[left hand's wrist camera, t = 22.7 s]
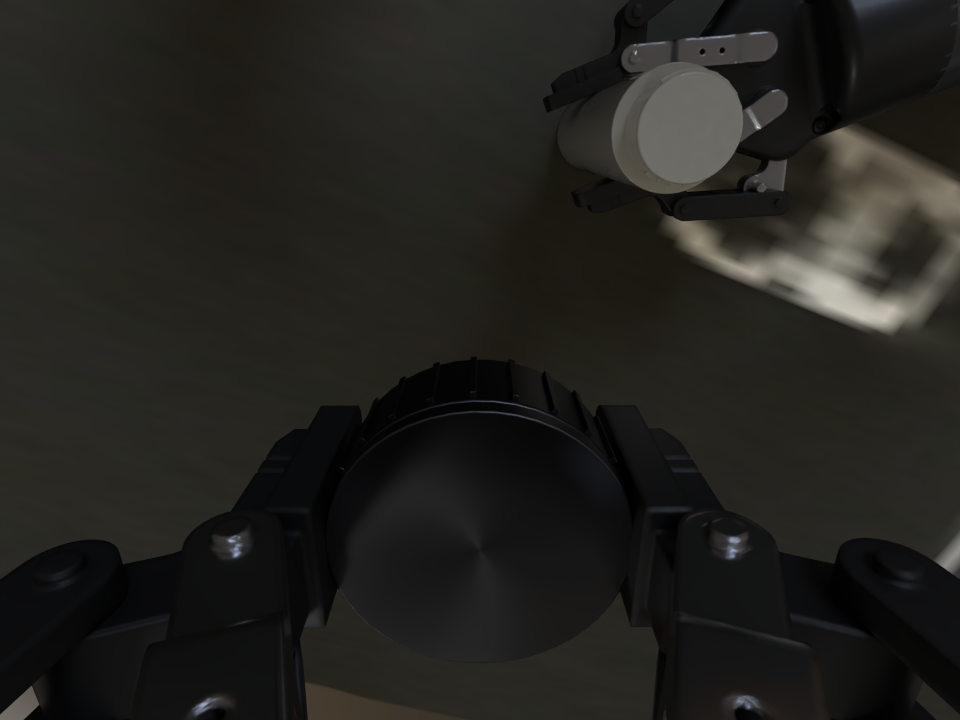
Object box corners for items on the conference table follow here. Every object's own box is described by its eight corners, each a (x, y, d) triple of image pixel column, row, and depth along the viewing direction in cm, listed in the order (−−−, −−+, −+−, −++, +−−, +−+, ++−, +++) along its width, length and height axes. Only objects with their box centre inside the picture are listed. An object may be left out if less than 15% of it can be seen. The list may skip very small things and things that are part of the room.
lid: (318, 541, 11) (287, 622, 10) (391, 315, 10) (370, 360, 8) (550, 607, 12) (563, 695, 10) (657, 407, 10) (698, 468, 8)
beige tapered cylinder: (637, 149, 36) (776, 157, 19) (575, 183, 36) (653, 221, 19) (609, 81, 34) (731, 25, 17) (545, 119, 35) (601, 99, 18)
